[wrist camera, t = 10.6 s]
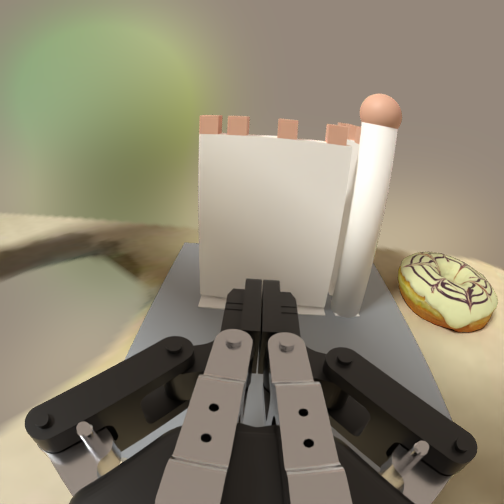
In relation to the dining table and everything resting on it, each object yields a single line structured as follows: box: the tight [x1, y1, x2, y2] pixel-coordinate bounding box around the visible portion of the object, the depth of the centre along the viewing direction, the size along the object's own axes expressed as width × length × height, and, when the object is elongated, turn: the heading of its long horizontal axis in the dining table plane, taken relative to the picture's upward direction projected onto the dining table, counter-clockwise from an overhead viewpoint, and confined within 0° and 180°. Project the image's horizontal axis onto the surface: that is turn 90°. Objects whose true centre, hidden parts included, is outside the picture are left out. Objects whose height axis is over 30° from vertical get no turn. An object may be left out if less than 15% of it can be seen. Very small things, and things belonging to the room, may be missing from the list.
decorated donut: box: [398, 252, 498, 332], centre depth 25 cm, size 10×11×4 cm
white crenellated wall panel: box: [198, 115, 352, 307], centre depth 21 cm, size 10×1×13 cm, turn 84°
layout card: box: [121, 243, 452, 474], centre depth 22 cm, size 20×24×1 cm
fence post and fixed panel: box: [330, 94, 402, 318], centre depth 24 cm, size 3×11×16 cm, turn 178°
